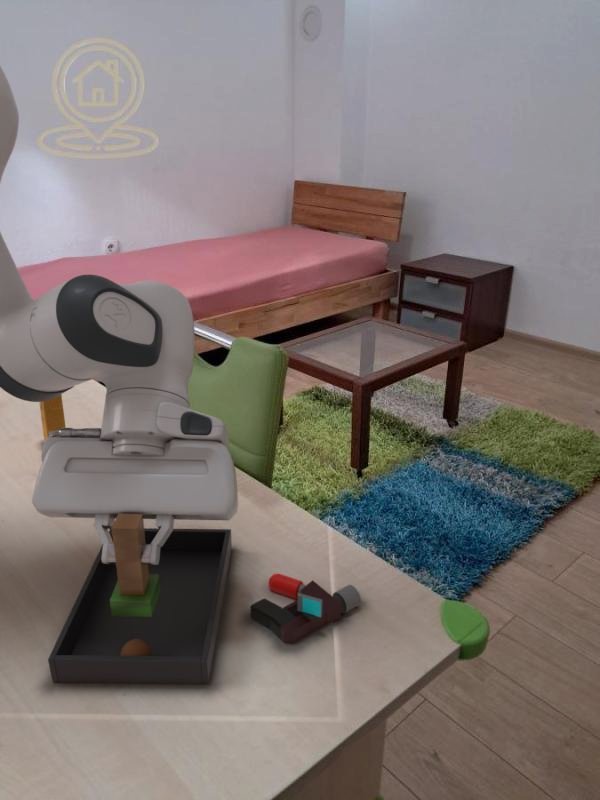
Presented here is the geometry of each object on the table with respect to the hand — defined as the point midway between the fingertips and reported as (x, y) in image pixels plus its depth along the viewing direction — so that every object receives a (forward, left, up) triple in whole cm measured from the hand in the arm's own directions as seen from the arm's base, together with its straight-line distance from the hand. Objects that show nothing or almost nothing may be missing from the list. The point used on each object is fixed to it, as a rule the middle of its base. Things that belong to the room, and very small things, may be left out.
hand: (130, 564), depth 62 cm
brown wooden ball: (0, -3, -9) cm, 9 cm away
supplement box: (-25, +45, -11) cm, 52 cm away
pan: (0, +6, -11) cm, 12 cm away
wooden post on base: (0, +1, -5) cm, 5 cm away
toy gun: (+17, +7, -11) cm, 21 cm away
